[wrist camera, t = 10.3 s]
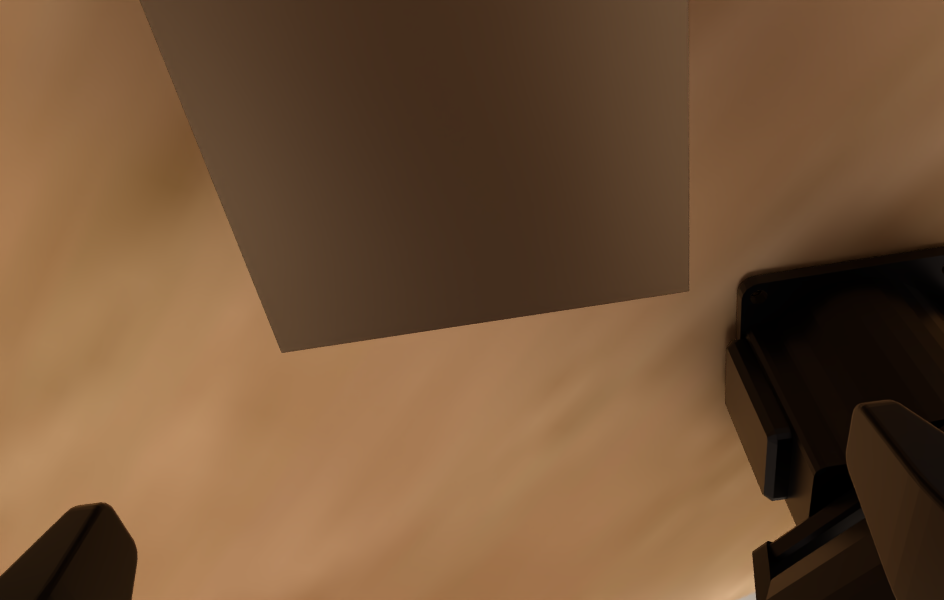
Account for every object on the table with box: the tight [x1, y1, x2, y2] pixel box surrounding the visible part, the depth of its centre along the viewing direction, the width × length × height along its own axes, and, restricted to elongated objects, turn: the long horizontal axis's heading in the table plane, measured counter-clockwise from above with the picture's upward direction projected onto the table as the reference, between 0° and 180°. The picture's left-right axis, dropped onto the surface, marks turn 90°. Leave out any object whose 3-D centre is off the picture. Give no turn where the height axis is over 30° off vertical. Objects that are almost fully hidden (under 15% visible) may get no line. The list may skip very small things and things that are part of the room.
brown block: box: [140, 0, 689, 353], centre depth 10 cm, size 4×4×6 cm
